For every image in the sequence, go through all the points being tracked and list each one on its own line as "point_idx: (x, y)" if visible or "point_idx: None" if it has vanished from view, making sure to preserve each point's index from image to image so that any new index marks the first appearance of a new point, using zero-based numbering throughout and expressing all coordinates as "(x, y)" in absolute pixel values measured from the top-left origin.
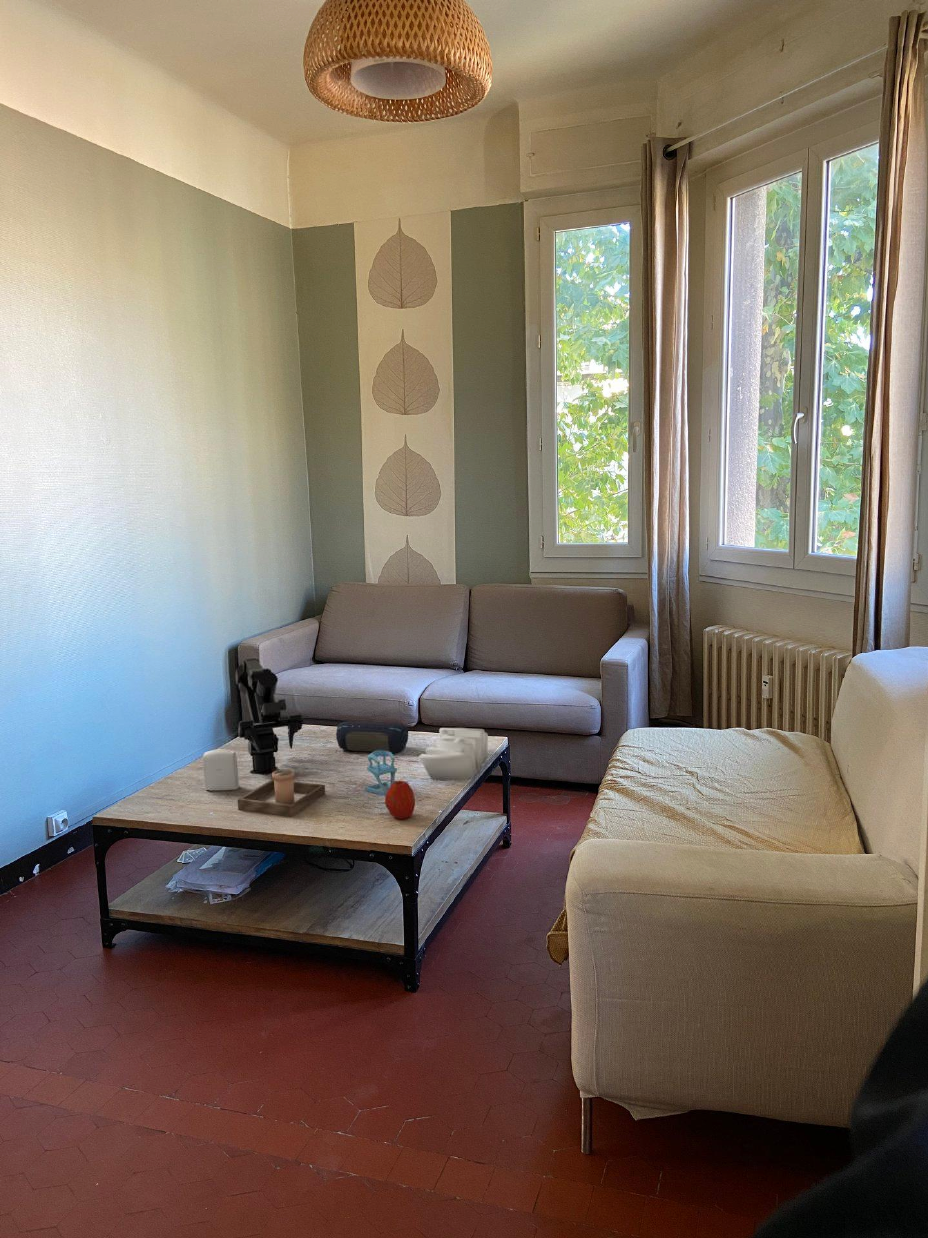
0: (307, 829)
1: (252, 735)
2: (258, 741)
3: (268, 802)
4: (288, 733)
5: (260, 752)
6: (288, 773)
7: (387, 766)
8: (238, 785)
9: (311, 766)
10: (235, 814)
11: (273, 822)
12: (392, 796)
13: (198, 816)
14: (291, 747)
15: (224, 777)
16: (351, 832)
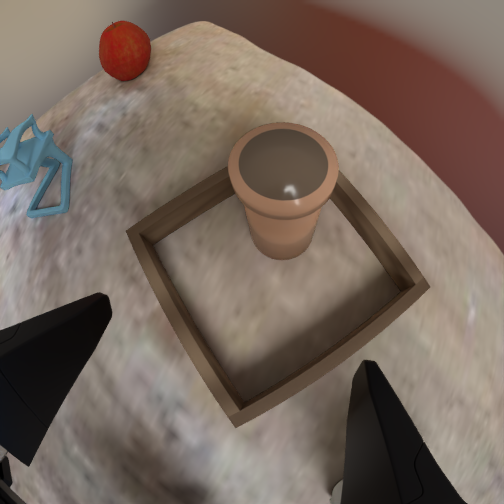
0: (295, 85)
1: (450, 500)
2: (386, 434)
3: (352, 193)
4: (26, 436)
5: (360, 368)
6: (268, 136)
7: (12, 165)
8: (341, 485)
9: (74, 476)
10: (428, 261)
11: (352, 147)
12: (141, 30)
13: (495, 308)
14: (106, 298)
15: None
16: (233, 52)
